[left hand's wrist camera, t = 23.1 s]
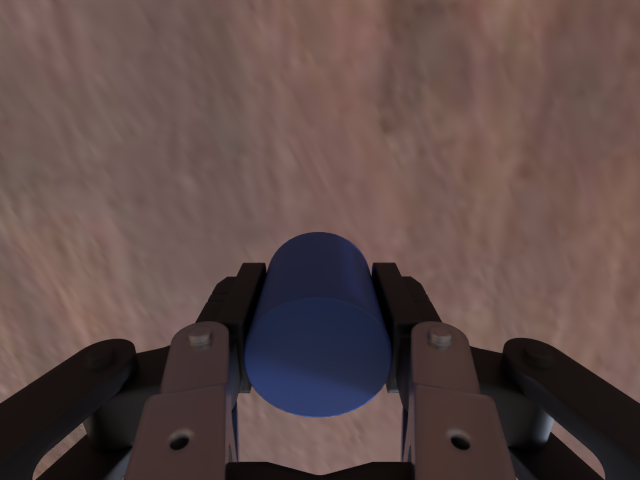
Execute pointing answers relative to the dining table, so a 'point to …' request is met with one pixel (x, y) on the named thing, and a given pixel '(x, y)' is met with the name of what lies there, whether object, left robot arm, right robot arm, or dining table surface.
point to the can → (318, 330)
